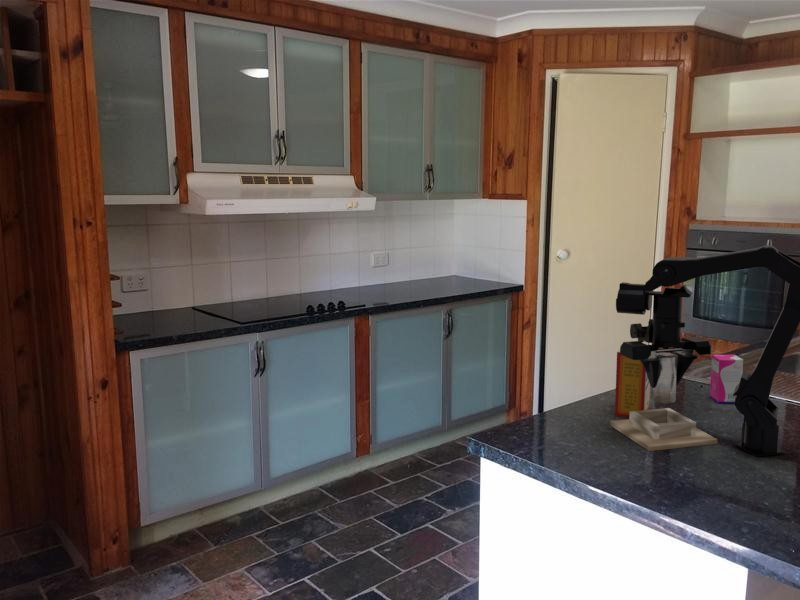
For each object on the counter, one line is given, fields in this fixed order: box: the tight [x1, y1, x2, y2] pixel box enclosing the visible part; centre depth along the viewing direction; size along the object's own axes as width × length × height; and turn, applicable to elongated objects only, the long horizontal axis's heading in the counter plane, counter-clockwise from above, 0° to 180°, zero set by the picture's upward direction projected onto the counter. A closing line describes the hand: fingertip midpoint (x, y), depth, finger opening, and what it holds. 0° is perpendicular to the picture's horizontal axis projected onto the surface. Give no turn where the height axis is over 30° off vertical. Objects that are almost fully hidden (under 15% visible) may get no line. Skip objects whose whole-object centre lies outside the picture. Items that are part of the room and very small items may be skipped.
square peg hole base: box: [609, 407, 719, 452], centre depth 146 cm, size 16×16×4 cm
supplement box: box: [709, 354, 744, 405], centre depth 168 cm, size 6×6×12 cm
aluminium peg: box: [650, 352, 678, 404], centre depth 144 cm, size 5×5×10 cm
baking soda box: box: [614, 349, 652, 418], centre depth 160 cm, size 10×6×16 cm
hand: (663, 386), depth 145 cm, fingers closed on aluminium peg, 5 cm apart
